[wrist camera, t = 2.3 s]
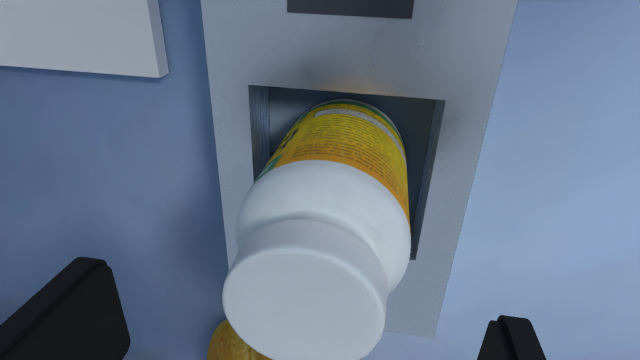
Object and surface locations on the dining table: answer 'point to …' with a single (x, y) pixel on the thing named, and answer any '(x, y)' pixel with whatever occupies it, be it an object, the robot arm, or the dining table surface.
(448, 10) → the grey board with squares
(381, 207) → the supplement bottle
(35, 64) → the plate
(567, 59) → the dining table surface
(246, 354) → the bread roll
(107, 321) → the robot arm
